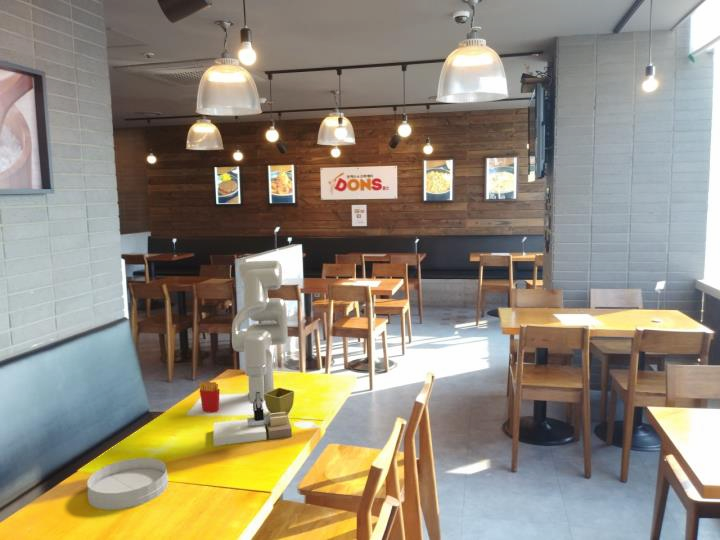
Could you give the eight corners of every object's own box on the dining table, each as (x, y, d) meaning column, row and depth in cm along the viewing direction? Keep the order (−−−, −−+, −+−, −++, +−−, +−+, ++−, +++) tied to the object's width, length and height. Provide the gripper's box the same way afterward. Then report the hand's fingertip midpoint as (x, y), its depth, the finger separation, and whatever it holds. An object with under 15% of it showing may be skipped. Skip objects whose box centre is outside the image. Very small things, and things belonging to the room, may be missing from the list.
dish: (143, 466, 184) (142, 451, 184) (183, 486, 170) (182, 470, 170) (73, 494, 167) (72, 478, 167) (111, 519, 153) (109, 502, 153)
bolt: (247, 424, 208) (246, 404, 207) (280, 420, 211) (279, 400, 210) (247, 427, 205) (246, 407, 204) (281, 423, 208) (280, 403, 207)
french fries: (222, 409, 232) (220, 381, 231) (217, 413, 229) (215, 384, 227) (203, 408, 235) (201, 379, 233) (198, 411, 231) (196, 382, 230)
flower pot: (279, 420, 219) (278, 397, 218) (264, 415, 224) (263, 393, 223) (295, 413, 226) (294, 391, 225) (280, 408, 231) (279, 387, 230)
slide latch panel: (214, 430, 211) (213, 415, 210) (287, 422, 217) (286, 407, 216) (213, 446, 197) (212, 430, 197) (291, 436, 203) (291, 420, 203)
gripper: (244, 364, 212) (247, 408, 214) (246, 377, 196) (249, 425, 198) (264, 362, 214) (267, 406, 216) (268, 375, 197) (270, 423, 199)
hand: (258, 415), depth 207 cm, fingers open, 9 cm apart
